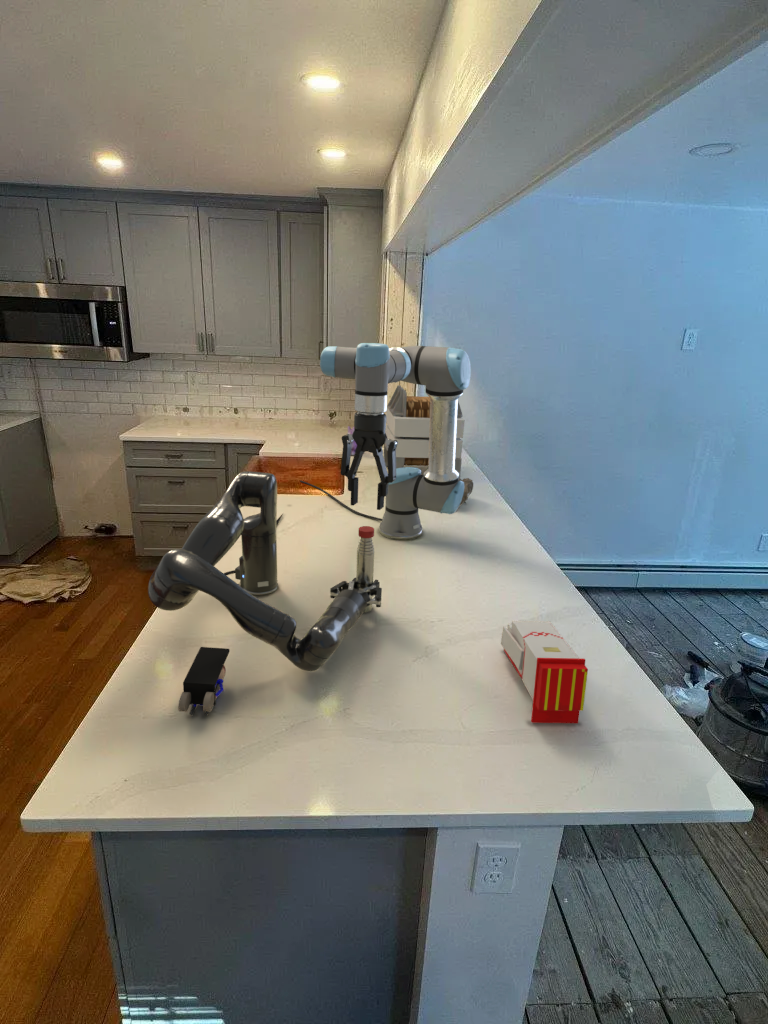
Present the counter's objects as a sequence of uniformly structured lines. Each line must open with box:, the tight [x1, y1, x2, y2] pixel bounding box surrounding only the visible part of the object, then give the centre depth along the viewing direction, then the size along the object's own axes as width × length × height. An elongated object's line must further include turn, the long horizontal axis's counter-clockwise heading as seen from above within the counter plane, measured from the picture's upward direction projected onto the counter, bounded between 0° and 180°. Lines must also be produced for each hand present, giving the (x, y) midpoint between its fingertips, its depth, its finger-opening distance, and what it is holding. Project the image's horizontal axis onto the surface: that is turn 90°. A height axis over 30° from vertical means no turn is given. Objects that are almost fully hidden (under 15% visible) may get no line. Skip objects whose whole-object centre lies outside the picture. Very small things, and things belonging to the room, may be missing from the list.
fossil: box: [458, 477, 474, 508], centre depth 233 cm, size 22×10×15 cm
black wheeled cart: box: [178, 646, 230, 717], centre depth 112 cm, size 7×8×15 cm
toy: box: [500, 620, 589, 724], centre depth 121 cm, size 12×13×30 cm
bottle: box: [355, 537, 375, 613], centre depth 146 cm, size 4×4×22 cm
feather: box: [276, 513, 284, 527], centre depth 210 cm, size 2×28×2 cm
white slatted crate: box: [383, 384, 465, 479], centre depth 268 cm, size 34×33×41 cm
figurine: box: [346, 425, 357, 456], centre depth 303 cm, size 9×10×15 cm
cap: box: [358, 525, 375, 539], centre depth 142 cm, size 4×4×2 cm
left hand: (368, 581), depth 150 cm, fingers closed on bottle, 4 cm apart
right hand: (367, 505), depth 140 cm, fingers open, 6 cm apart
